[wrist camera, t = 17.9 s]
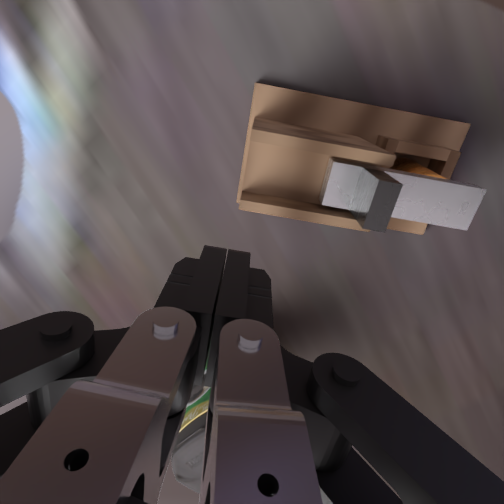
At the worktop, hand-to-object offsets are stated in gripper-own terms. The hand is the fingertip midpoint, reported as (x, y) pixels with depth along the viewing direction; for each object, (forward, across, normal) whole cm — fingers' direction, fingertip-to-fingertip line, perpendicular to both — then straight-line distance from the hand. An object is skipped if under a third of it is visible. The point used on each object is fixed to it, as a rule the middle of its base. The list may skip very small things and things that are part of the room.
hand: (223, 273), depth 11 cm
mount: (+27, -10, 0) cm, 29 cm away
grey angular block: (+18, -12, 0) cm, 21 cm away
